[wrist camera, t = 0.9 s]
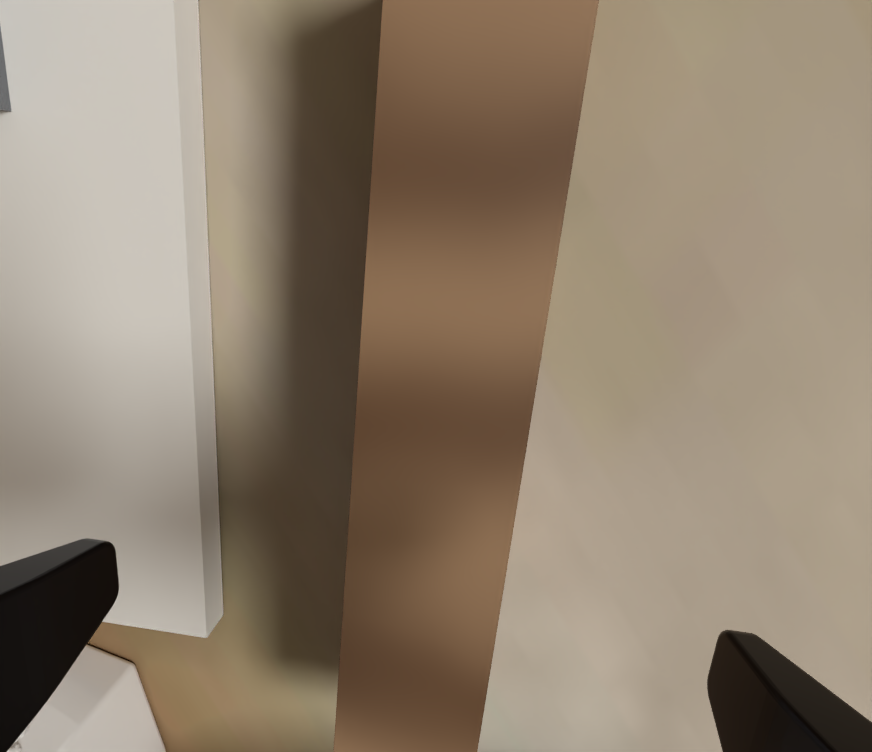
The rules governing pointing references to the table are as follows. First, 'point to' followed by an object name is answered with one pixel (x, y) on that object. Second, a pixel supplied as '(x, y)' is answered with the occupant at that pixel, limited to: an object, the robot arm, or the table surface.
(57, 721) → the jar
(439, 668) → the walnut rail
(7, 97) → the bracket
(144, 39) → the mounting board
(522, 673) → the table surface
